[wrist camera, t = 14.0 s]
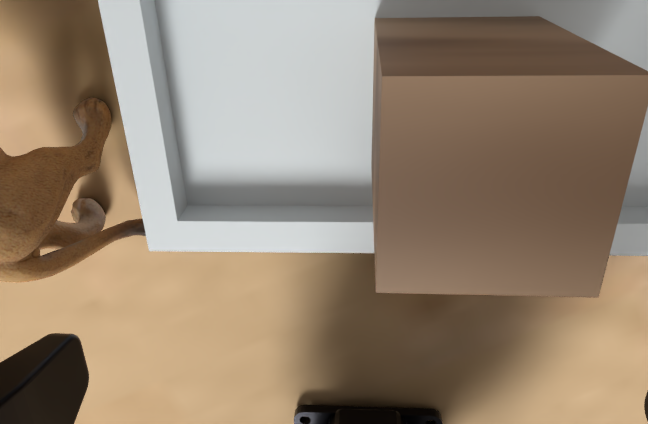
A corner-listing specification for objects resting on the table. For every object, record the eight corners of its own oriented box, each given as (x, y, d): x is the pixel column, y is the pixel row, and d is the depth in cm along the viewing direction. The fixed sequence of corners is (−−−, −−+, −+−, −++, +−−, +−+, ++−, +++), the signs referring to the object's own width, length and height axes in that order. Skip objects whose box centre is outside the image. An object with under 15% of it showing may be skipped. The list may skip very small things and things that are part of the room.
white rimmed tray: (691, 199, 18) (760, 256, 15) (183, 198, 19) (149, 251, 16) (791, -120, 14) (915, -134, 11) (135, -97, 15) (76, -103, 12)
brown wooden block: (515, 168, 15) (598, 297, 10) (371, 166, 15) (375, 292, 10) (539, 15, 13) (655, 75, 8) (374, 18, 14) (381, 76, 8)
